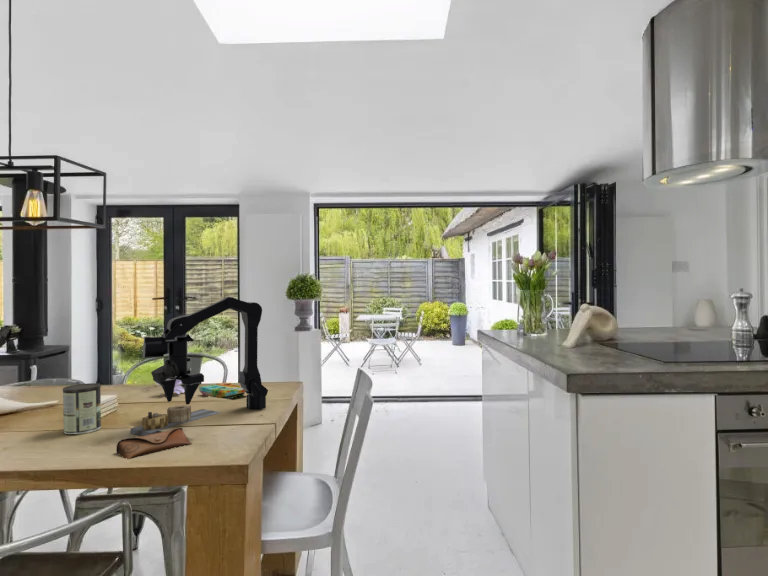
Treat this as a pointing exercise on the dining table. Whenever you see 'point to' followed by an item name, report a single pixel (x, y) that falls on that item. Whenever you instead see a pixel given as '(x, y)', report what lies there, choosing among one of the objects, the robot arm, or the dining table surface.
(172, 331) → the robot arm
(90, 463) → the dining table surface
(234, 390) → the puzzle game
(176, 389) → the water lily
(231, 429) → the dining table surface
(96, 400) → the coffee can
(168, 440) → the sunglasses case
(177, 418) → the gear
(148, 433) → the gear board
